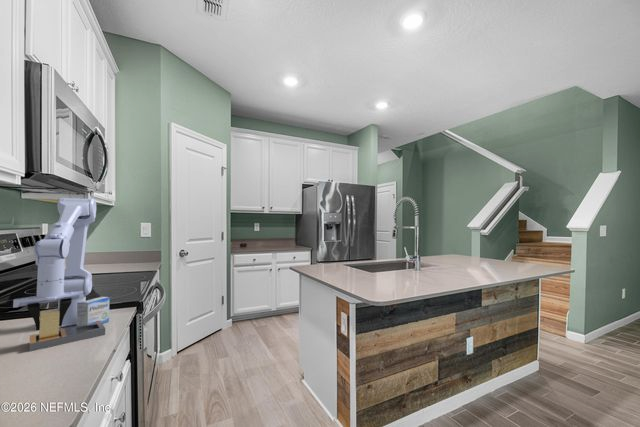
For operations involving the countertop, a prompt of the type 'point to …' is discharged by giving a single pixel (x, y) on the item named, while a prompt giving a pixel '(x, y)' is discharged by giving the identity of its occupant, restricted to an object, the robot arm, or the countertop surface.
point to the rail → (67, 336)
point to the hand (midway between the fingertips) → (49, 327)
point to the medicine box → (93, 311)
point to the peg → (49, 323)
